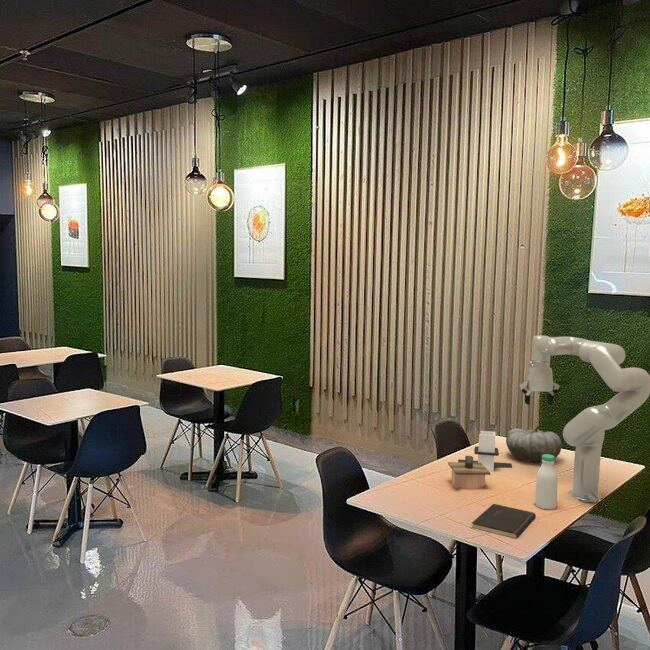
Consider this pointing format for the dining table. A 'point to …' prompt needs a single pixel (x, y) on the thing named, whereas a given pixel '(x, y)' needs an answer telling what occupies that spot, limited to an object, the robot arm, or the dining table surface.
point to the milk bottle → (546, 484)
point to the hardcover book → (504, 520)
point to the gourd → (533, 444)
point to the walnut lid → (468, 467)
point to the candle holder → (488, 452)
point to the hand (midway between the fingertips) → (538, 404)
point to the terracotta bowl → (468, 481)
